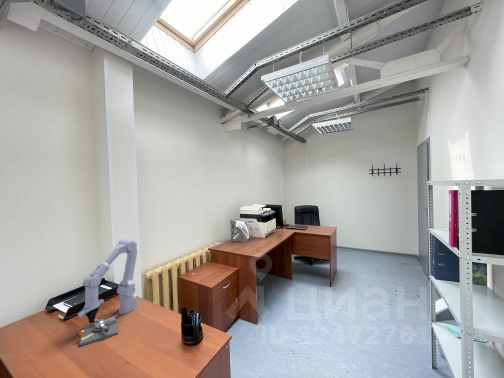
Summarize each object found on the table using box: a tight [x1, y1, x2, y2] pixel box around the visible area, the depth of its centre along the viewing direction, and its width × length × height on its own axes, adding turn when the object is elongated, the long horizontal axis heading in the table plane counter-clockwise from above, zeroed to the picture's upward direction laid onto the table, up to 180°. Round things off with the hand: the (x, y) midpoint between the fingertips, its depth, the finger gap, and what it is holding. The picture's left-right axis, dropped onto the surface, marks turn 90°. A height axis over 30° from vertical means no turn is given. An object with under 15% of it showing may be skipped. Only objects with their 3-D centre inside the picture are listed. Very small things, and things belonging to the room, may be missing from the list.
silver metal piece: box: [78, 314, 119, 337], centre depth 115 cm, size 18×18×4 cm
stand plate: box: [78, 318, 119, 348], centre depth 115 cm, size 16×16×1 cm
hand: (91, 322), depth 117 cm, fingers closed, pressing on silver metal piece
